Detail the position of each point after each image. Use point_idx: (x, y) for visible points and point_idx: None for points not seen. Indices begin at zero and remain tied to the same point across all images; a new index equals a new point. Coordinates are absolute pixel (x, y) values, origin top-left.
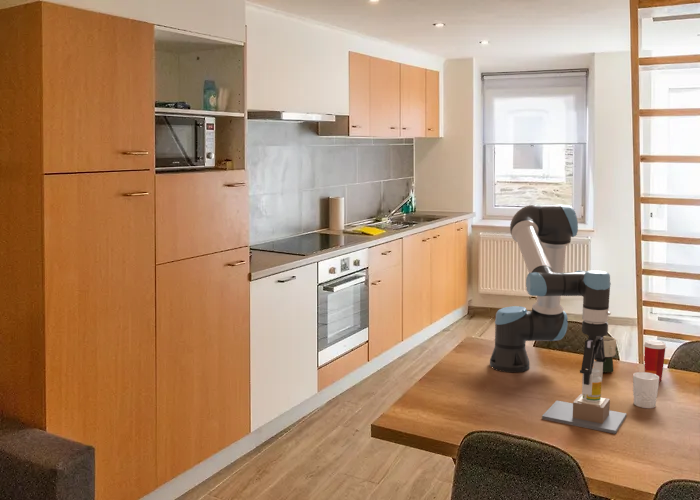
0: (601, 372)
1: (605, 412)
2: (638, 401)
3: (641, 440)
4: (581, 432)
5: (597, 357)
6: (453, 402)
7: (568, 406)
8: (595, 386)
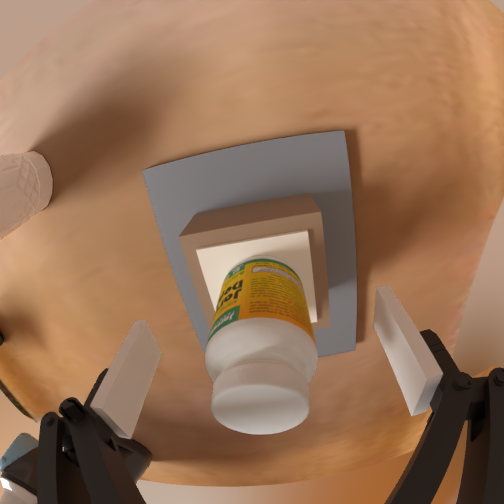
0: (126, 361)
1: (265, 208)
2: (42, 190)
3: (332, 44)
4: (393, 226)
5: (113, 453)
6: (349, 447)
7: None
8: (301, 315)
